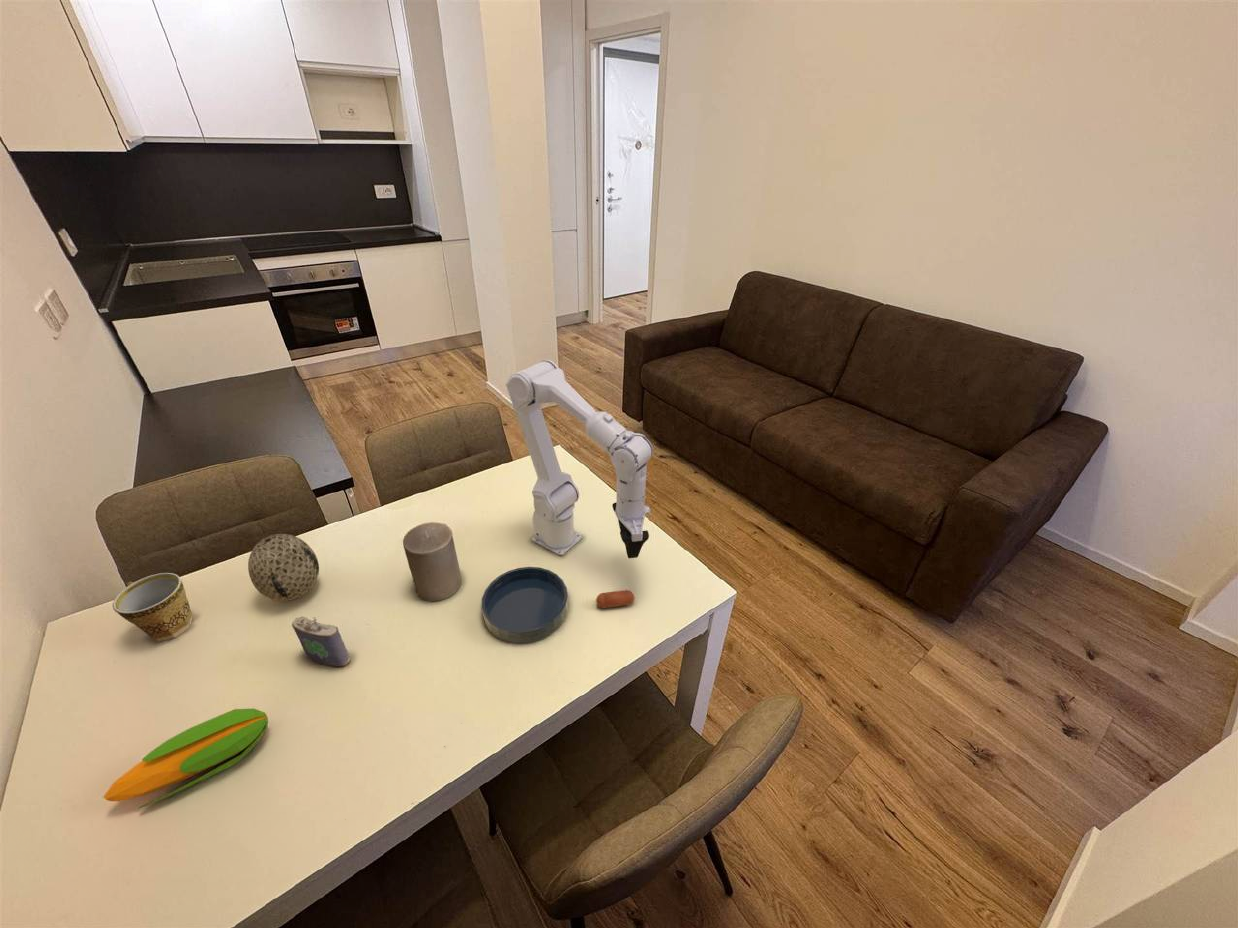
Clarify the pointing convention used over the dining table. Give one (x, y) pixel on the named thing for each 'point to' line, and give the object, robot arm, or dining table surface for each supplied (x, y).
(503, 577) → the bowl
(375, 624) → the dining table surface
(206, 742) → the corn
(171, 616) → the ceramic cup
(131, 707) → the dining table surface
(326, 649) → the flask
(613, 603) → the sausage
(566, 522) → the robot arm
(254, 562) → the decorative egg
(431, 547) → the pillar candle
